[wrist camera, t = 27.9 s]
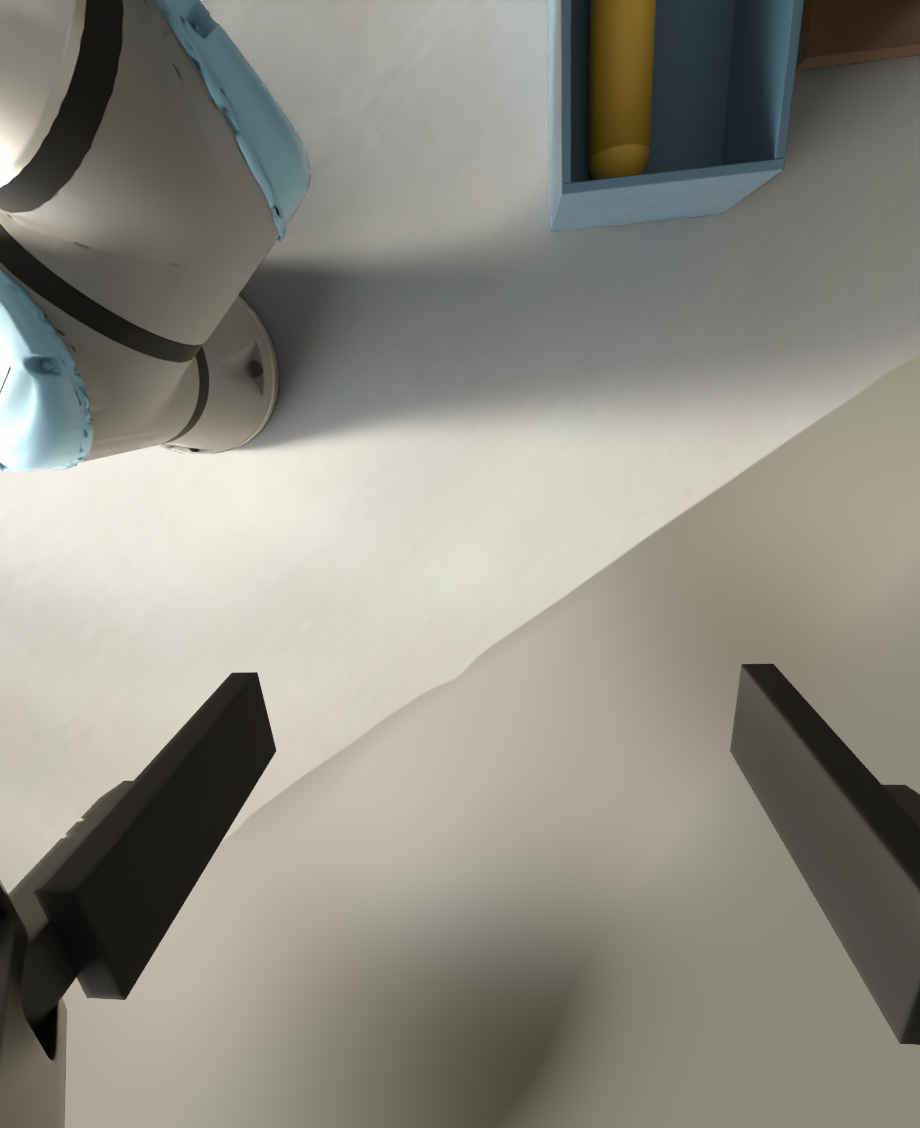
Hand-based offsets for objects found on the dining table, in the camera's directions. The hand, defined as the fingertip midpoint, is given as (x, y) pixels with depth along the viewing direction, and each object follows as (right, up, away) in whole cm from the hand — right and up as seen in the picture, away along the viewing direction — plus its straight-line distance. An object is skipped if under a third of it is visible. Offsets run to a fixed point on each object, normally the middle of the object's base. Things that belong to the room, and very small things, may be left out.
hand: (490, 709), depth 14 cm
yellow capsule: (+10, +41, +20) cm, 47 cm away
